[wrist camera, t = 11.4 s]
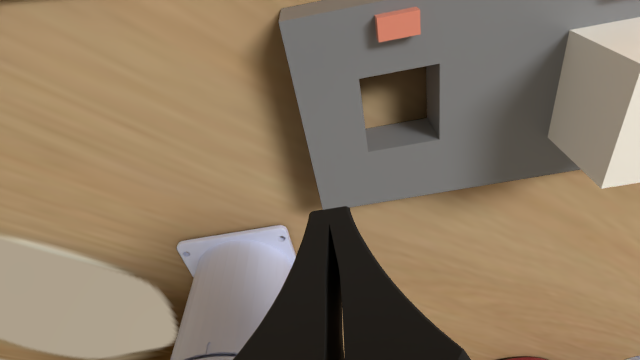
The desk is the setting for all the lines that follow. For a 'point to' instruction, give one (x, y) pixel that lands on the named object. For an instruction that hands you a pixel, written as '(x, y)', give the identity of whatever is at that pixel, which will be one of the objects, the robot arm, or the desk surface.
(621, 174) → the plug
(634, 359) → the aerosol can
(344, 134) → the socket
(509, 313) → the desk surface
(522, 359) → the canister
